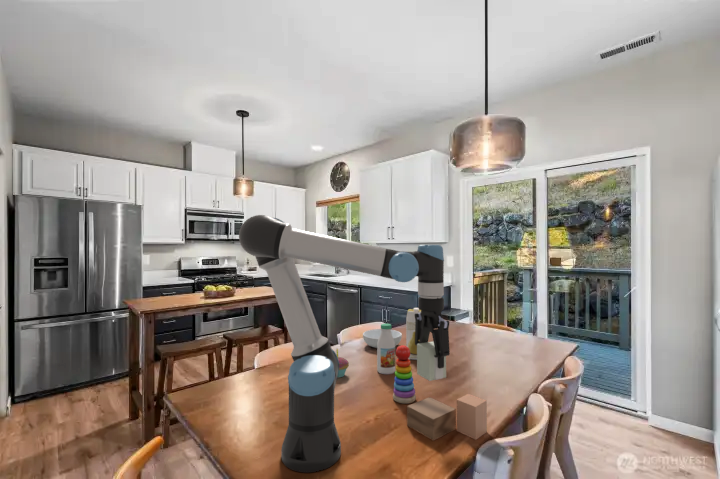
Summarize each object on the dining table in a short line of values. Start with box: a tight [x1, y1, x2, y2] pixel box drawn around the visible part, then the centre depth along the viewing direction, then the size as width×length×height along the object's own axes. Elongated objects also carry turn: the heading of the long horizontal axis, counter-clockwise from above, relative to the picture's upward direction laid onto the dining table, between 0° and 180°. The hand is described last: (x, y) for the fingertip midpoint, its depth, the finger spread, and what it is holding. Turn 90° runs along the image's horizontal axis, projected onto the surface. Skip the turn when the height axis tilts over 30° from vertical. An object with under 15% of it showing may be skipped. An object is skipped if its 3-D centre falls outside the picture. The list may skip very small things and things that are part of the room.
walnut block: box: [406, 396, 457, 441], centre depth 102 cm, size 10×10×6 cm
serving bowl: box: [362, 328, 403, 349], centre depth 184 cm, size 21×21×7 cm
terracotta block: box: [456, 393, 488, 440], centre depth 99 cm, size 6×6×9 cm
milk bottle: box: [376, 323, 396, 375], centre depth 147 cm, size 8×8×20 cm
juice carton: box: [405, 307, 421, 361], centre depth 165 cm, size 9×8×24 cm
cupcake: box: [335, 348, 350, 378], centre depth 143 cm, size 9×8×12 cm
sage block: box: [416, 341, 447, 382], centre depth 102 cm, size 6×6×9 cm
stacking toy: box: [392, 344, 417, 404], centre depth 120 cm, size 8×8×19 cm
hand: (431, 374), depth 102 cm, fingers closed on sage block, 6 cm apart
